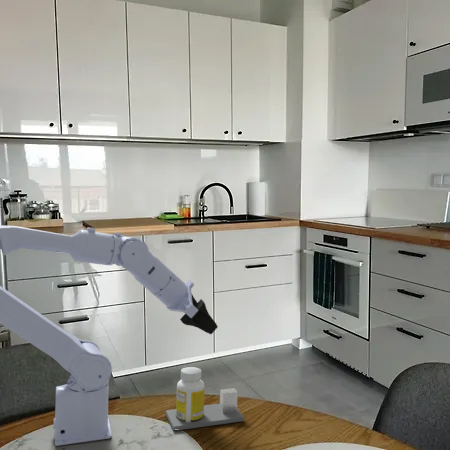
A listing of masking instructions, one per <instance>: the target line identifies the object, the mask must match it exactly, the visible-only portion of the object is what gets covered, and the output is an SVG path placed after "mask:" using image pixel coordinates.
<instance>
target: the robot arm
mask: <svg viewBox="0 0 450 450" xmlns="http://www.w3.org/2000/svg"><path fill="white" fill-rule="evenodd" d="M96 230H97V229H96V228H93V227H86V229H79V230H78V231H77V232H75V233H73V234H71V235H69V234H65V233H64V234H63V233H57V232H52V231H45V230H40V229H35V228H28V227H23V226H16V225H3V224H2V225H0V250H1V253H2V255H3V256H6V255H9V254H11V253H14V252H17V251H18V250H21V249H22V250H23V249H24V250H25V249H26V250H35V251H43V252H44V251H46V252H47V251H48V252H55V253H65V254H69V255H70V257H71V258H72V259H73V261H74V262H78V263H87V264H95V265H102V266H103V265H104V266H112V265H116V266H118V267H120V266H121V267H122V268H124V269H125V270H127V271H128V272H129V273H130V274H131V275H132V276H133V277H134V279H135V281H137V282H138V283H140V284H141V286H143V287H144V288H145V289H146V290H147V291H149V292H150V293H151V294H152V295H154V297H156V298H157V299H158V300H159V301H160V302H161V303H162V304H163V305H165V306H166V308H167V309H168V310H169V311H171V312H177V313H178V312H179V313H184V315H183V316H181V318H180V320H179V321H181V323H182V324H183V325H185V326H191V327H194V328H196V329H197V328H198V329H199V330H201V331H202V332H205V333H207V334H209V335H213V333H214V332H215V331H216V330H217V329H218V327H219V326H218V324H217V322H215V320H214V319H213V317H212V316H211V315H210V313H209V312H208V309H207V306H206V303H205V301H204V300H203V299H202V298H200V299H199V300H198V302H197V300H196V298H195V297H194V295H193V293H192V288H193V287H195V283H193V282H192V280H188V281H187V282H186V283H185V282H184V281H183V280H182V279H181V278H180V276H177V274H176V273H174V272H173V271H172V270H171V269H170V268H169V267H168V266H167V265H165V263H164V262H162V261H161V260H160V259H159V258H158V257H157V256H155V255H153V253H152V252H151V251H150V250H149V247H148V245H147V244H146V242H145V241H142V240H140V239H138V238H135V237H131V236H126V235H125V234H123V235H122V233H121V232H114V234H110V233H106V232H98V231H96ZM0 324H1V325H2V326H3V327H5V328H6V329H8V330H10V331H11V332H13V333H15V334H16V335H17V336H19V337H20V338H22V339H23V340H25V341H27V342H28V343H30V344H31V345H32V346H34V347H36V348H37V349H38V350H40V351H42V352H43V353H44V354H46V355H48V356H49V357H51V358H53V359H54V360H55V361H56V362H57V363H58V364H59V365H60V366H61V367H62V368H63V369H64V370H65V371H67V373H70V375H69V378H68V380H67V383H66V384H63V385H59V386H58V385H57V386H55V406H54V407H55V409H54V413H55V416H54V417H53V422H52V423H53V427H52V428H53V430H54V431H55V432H54V446H58V447H59V446H65V445H71V444H79V443H87V442H93V441H99V440H100V441H101V440H108V439H111V438H112V437H113V434H112V430H111V429H112V427H111V424H110V419H109V380H110V378H111V376H112V371H113V367H112V363H111V361H110V360H109V358H108V357H107V356H105V355H104V354H103V352H102V351H101V349H100V347H99V346H98V345H97V344H96V342H93V341H91V340H83V339H80V338H78V337H77V336H75V335H74V334H71V333H69V332H67V331H66V330H65V329H63V328H62V327H60V326H58V325H57V324H55V322H53V321H52V320H50V319H49V318H47V317H46V316H45V315H43V314H42V313H40V312H39V311H37V310H36V309H35V308H33V307H32V306H30V305H29V304H27V303H25V302H24V301H23V300H22V299H20V298H18V296H15V295H14V294H13V293H11V292H10V291H8V290H7V289H5V288H4V287H3V286H1V285H0Z"/></svg>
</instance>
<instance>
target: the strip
mask: <svg viewBox="0 0 450 450" xmlns="http://www.w3.org/2000/svg"><path fill="white" fill-rule="evenodd" d="M165 416H166V418H167V420H168V422H169V425H170V427H171V426H172V427H171V429H172V428H173V429H172V431H173V430H175V429H180V430H179V431H181V430H189V429H191V430H192V429H197V428H202V427H203V428H205V427H210V426H218V425H226V424H231V423H238V422H239V423H240V422H244V421H245V416H244V415H243V414H242V413H241V412H240V410H239V409H238V391H237V389H236V388H233V387H232V388H224V389H219V403H213V404H204V416H203V418H202V419H201V420H199V421H195V422H183V421H180V420H178V419H177V418H176V408H173V409H166V410H165Z"/></svg>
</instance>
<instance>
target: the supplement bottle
mask: <svg viewBox="0 0 450 450" xmlns="http://www.w3.org/2000/svg"><path fill="white" fill-rule="evenodd" d="M175 403H176V405H175V409H176V418H177V419H178V420H180V421H183V422H195V421H199V420H201V419H202V418H203V416H204V405H205V382H204V381H203V380H202V369H201V368H199V367H195V366H188V367H183V368H181V370H180V380H179V381H178V382H177V384H176V400H175Z"/></svg>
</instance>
